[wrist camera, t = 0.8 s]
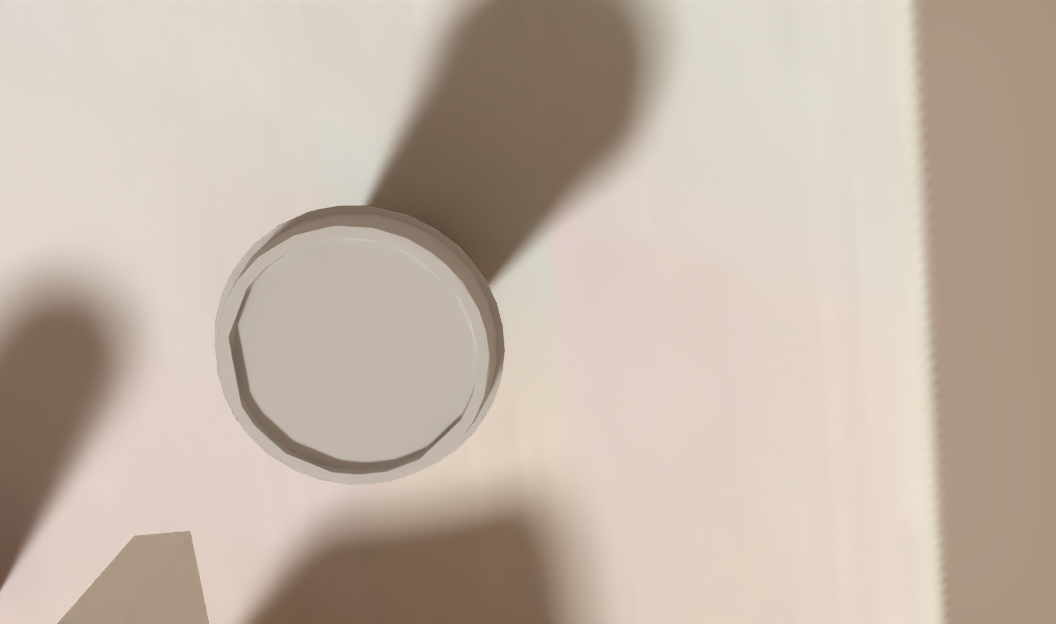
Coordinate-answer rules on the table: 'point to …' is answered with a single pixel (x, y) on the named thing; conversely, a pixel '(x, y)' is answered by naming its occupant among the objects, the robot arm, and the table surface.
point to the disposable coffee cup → (358, 344)
